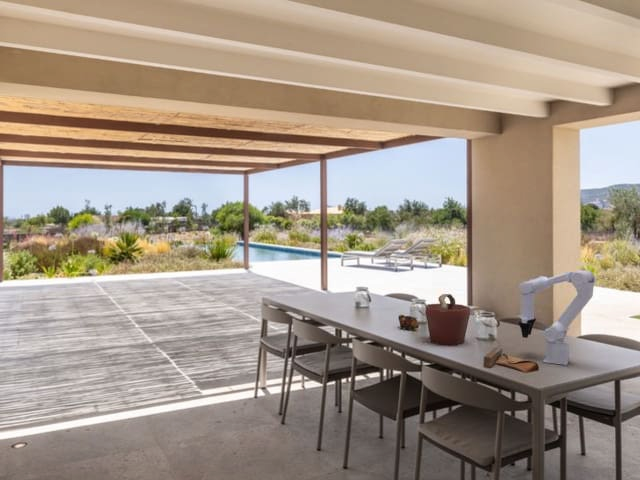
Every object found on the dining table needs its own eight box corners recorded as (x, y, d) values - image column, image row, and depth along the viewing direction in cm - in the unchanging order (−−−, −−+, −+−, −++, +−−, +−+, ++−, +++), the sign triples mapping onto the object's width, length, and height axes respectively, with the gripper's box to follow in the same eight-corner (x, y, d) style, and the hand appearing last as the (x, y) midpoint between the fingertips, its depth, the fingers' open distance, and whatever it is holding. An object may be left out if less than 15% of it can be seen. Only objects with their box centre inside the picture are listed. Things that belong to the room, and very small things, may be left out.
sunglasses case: (490, 363, 228) (495, 349, 230) (499, 369, 232) (504, 355, 233) (527, 373, 213) (532, 358, 215) (535, 379, 217) (540, 364, 218)
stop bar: (501, 357, 238) (501, 348, 238) (490, 368, 221) (490, 357, 221) (495, 356, 239) (495, 347, 239) (483, 367, 223) (483, 356, 222)
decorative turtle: (402, 326, 311) (404, 312, 311) (423, 331, 300) (424, 318, 299) (392, 327, 305) (393, 313, 304) (412, 333, 293) (413, 319, 293)
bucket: (453, 349, 253) (453, 298, 252) (414, 342, 268) (414, 294, 267) (475, 341, 271) (476, 294, 270) (438, 335, 286) (438, 290, 285)
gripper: (521, 304, 249) (520, 332, 249) (515, 308, 237) (514, 337, 237) (536, 305, 245) (536, 333, 246) (531, 309, 233) (530, 339, 233)
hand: (526, 336), depth 241 cm, fingers open, 7 cm apart
